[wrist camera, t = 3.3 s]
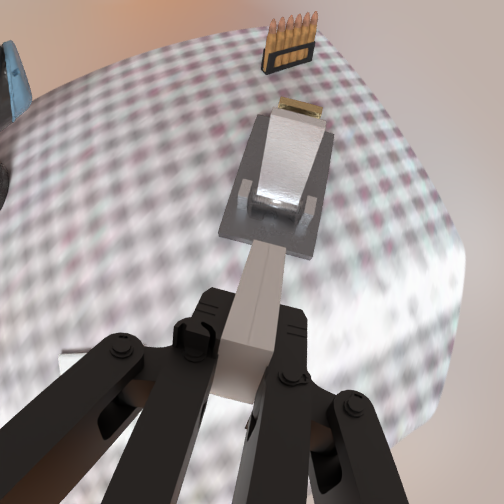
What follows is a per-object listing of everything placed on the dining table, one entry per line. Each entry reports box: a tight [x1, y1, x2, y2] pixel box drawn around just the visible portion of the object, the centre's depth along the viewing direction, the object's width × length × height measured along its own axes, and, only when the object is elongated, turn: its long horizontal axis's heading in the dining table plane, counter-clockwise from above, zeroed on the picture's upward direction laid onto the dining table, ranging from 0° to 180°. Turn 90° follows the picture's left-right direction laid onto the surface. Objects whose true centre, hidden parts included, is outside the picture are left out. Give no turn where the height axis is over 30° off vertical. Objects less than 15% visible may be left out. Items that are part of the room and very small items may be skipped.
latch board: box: [218, 97, 334, 260], centre depth 40 cm, size 20×12×6 cm, turn 165°
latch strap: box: [251, 107, 326, 214], centre depth 33 cm, size 2×6×14 cm, turn 76°
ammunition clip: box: [261, 11, 318, 75], centre depth 45 cm, size 11×2×12 cm, turn 123°
